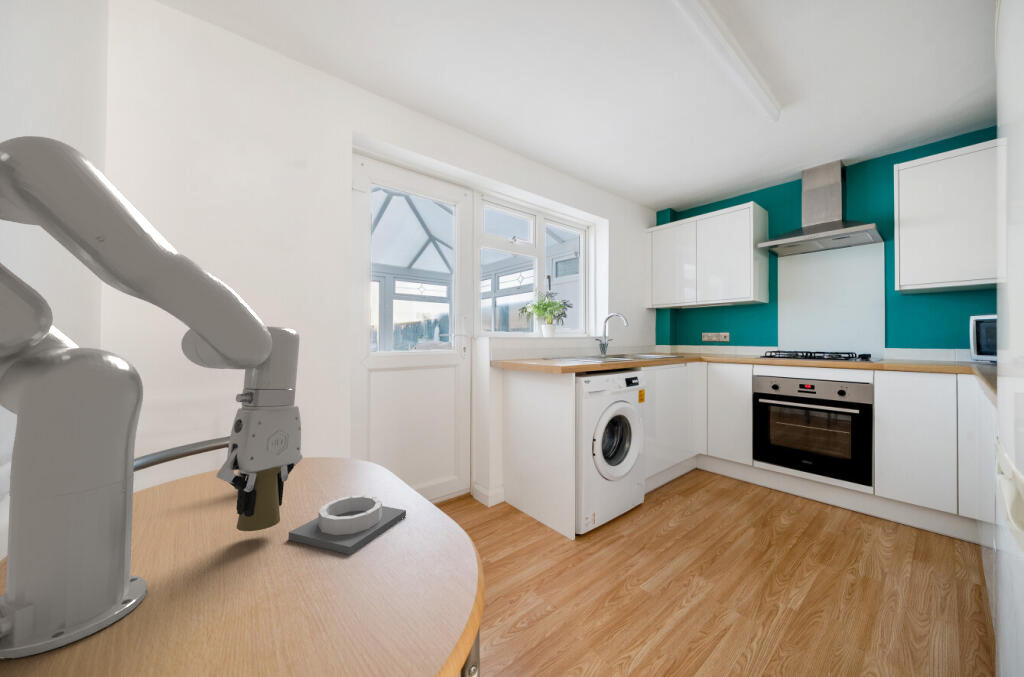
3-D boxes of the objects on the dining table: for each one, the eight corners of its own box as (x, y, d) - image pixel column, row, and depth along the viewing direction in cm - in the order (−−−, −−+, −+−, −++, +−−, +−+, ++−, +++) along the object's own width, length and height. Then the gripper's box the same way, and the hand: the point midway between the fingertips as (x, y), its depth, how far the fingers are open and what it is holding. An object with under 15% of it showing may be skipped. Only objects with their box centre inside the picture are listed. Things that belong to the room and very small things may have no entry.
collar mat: (350, 554, 57) (350, 530, 57) (288, 539, 62) (288, 517, 62) (405, 516, 70) (406, 496, 70) (351, 506, 75) (352, 487, 75)
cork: (288, 517, 65) (293, 452, 66) (261, 532, 59) (267, 461, 60) (256, 515, 65) (261, 451, 66) (226, 529, 59) (233, 459, 60)
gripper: (233, 404, 54) (220, 534, 53) (326, 397, 70) (318, 497, 69) (199, 401, 57) (187, 525, 56) (296, 395, 73) (289, 491, 71)
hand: (260, 508), depth 62 cm, fingers closed on cork, 4 cm apart
